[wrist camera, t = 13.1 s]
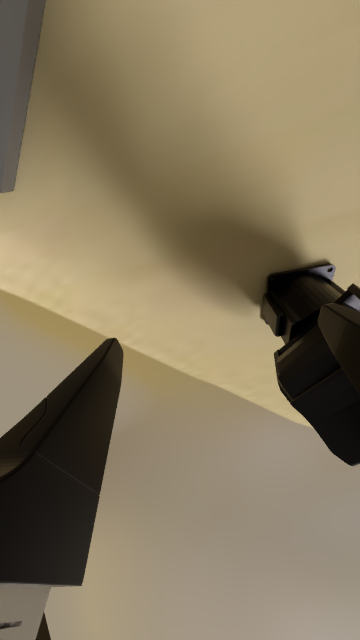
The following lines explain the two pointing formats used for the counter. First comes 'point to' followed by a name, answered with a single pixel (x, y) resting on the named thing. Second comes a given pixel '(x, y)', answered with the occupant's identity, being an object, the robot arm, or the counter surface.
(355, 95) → the counter surface
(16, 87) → the socket board
